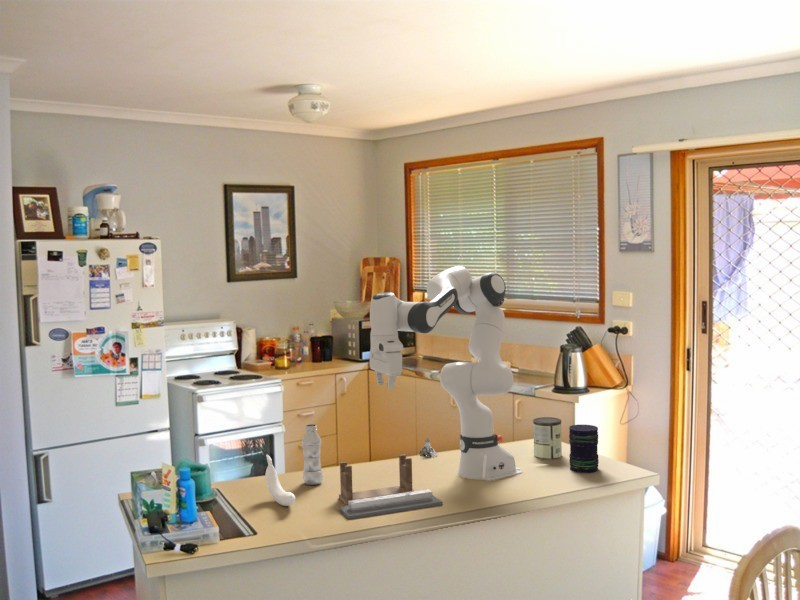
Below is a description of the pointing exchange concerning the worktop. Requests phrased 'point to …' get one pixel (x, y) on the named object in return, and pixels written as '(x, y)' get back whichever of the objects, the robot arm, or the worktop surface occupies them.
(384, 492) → the stand
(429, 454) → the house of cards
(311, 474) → the plastic bottle
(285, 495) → the banana
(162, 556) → the worktop surface
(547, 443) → the coffee can
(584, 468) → the storage jar
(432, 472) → the worktop surface
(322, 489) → the worktop surface
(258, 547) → the worktop surface
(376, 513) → the mat
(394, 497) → the rail
